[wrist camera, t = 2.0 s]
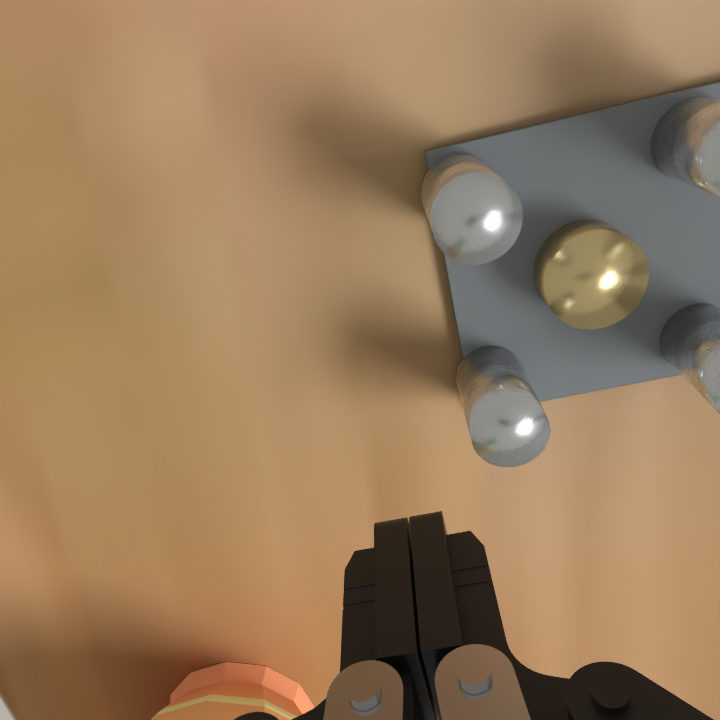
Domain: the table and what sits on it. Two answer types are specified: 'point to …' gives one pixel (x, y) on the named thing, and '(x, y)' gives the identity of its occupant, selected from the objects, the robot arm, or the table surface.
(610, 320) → the brushed gold puck
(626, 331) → the mat
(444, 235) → the cylinder
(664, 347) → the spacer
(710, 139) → the cylinder
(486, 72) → the table surface
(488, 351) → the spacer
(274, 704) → the potted cactus
